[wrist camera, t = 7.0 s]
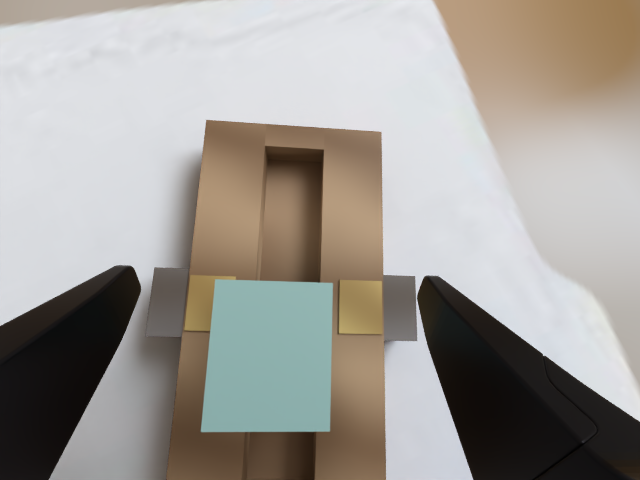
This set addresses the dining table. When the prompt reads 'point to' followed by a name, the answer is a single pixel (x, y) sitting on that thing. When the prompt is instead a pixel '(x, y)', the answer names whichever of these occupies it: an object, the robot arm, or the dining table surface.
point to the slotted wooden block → (290, 266)
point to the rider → (269, 357)
